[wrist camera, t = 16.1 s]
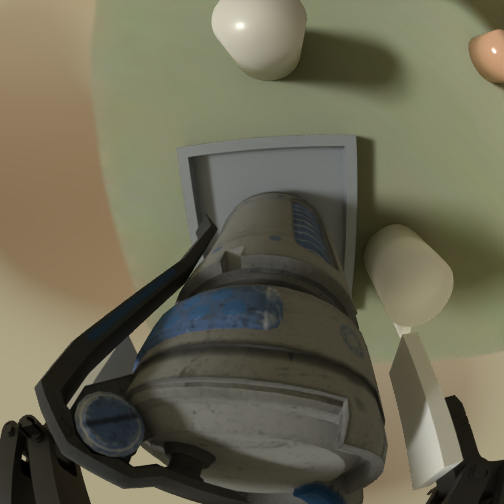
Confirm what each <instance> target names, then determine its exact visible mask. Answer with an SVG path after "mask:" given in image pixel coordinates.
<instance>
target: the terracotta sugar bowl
mask: <svg viewBox="0 0 504 504" xmlns="http://www.w3.org/2000/svg"><path fill="white" fill-rule="evenodd" d="M469 54H470V57H471V60H472V62H473V64H474V66H475V68H476V69H477V71H478V72H479V74H480V75H481V76H482V77H483V78H484V79H486V80H487V81H489V82H491V83H504V30H501V29H497V30H494V31H491V32H488V33H485V34H482V35H479V36H476V37H474V38H472V39H471V40H470V42H469Z"/></svg>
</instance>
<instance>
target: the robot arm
mask: <svg viewBox="0 0 504 504" xmlns="http://www.w3.org/2000/svg"><path fill="white" fill-rule="evenodd" d="M136 356H137V352H136V351H135V348H134V346H133V344H132V342H131V340H130V338H129V336H128V337H127V338H126V339H124V340H123V341H122V342H121V343H120V344H119V345H118V346H117V347H116V348H115V349H114V350H113V351H112V352H111V353H110V354H109V355H108V356H107V357H106V358H105V359H104V360H103V361H101V362H100V363H99V364H98V365H97V366H96V367H95V368H94V369H93V370H92V371H91V372H90V373H89V374H88V376H87V377H86V378H85V380H84V381H83V383H82V384H81V386H80V387H79V388H78V390H77V391H76V393H75V394H74V396H73V397H72V399H71V400H70V402H69V403H68V404H67V407H68V408H69V409H70V408H71V407H72V405H73V404H74V402H75V400H76V399H77V397H78V396H79V394H80V392H81V391H82V389H83V388H84V386H86V385H90V384H94V383H99V382H103V381H107V380H111V379H114V378H118V377H122V376H126V375H130V374H133V367H134V363H135V360H136ZM389 375H390V378H391V382H392V386H393V390H394V394H395V397H396V402H397V405H398V410H399V414H400V419H401V423H402V428H403V433H404V438H405V443H406V448H407V454H408V459H409V466H410V472H411V479H412V487H413V490H417V489H420V488H423V487H427V486H429V485H431V484H433V483H434V482H436V483H437V486H436V487H435V488H433V489H431V490H430V491H429V492H428V493H427V495H430V494H431V493H432V494H431V496H430V498H429V499H428V501H427V503H426V504H504V460H499V461H487V460H486V459H484V458H482V457H481V456H480V454H479V452H478V449H477V446H476V443H475V439H474V436H473V433H472V430H471V427H470V424H469V423H468V422H469V421H468V418H467V416H466V413H465V410H464V407H463V404H462V403H461V401H460V400H459V399H458V398H457V397H456V396H455V395H453V396H449V397H446V398H444V396H443V393H442V390H441V388H440V385H439V382H438V380H437V377H436V375H435V372H434V370H433V367H432V365H431V363H430V360H429V358H428V356H427V353H426V351H425V349H424V346H423V344H422V342H421V340H420V338H419V335H418V333H417V332H416V333H408V334H402V337H401V341H400V344H399V347H398V350H397V353H396V356H395V359H394V361H393V364H392V367H391V370H390V372H389ZM22 455H24V456H25V457H26V461H24V460H22V459H21V458H22ZM0 504H91V503H90V500H89V496H88V493H87V490H86V487H85V483H84V480H83V476H82V472H81V468H80V465H78V464H76V463H75V462H73V461H72V460H70V459H68V458H67V457H65V456H64V455H63V454H62V453H61V451H60V449H59V447H58V445H57V443H56V441H55V440H54V438H53V436H52V434H51V432H50V429H49V427H48V425H47V423H45V424H44V425H42V424H41V423H40V422H39V421H38V420H37V419H36V418H35V417H34V416H32V415H25V416H23V417H22V418H21V419H20V420H19V422H18V424H17V423H16V422H15V421H9V422H7V423H6V424H5V425H4V427H3V429H2V433H1V438H0Z"/></svg>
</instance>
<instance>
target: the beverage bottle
mask: <svg viewBox="0 0 504 504" xmlns="http://www.w3.org/2000/svg"><path fill="white" fill-rule="evenodd" d="M217 230H218V228H217V227H216V225H215V224H214V223H213V222H212V220H211V219H210V218H209V216H208V215H207V214H206V213H205V214H204V218H203V220H202V222H201V223H200V225H199V227H198V229H197V230H196V232H195V233H196V236H197V238H198V240H197V241H196V242H195V243H194V244H193V246H192V247H191V248H190V249H189V250H188V252H187V253H186V254H185V255H184V256H183V258H182V259H181V260H180V261H179V262H178V263H176V264H175V265H173V266H172V267H171V268H169V269H168V270H167V271H165V272H164V273H162V274H161V275H160V276H158V277H157V278H155V279H154V280H153V281H151V282H150V283H149V284H147V285H146V286H144V287H143V288H142V289H140V290H139V291H138V292H136V293H135V294H134V295H132V296H131V297H130V298H128V299H127V300H126V301H124V302H123V303H122V304H120V305H119V306H118V307H116V308H115V309H114V310H112V311H111V312H110V313H108V314H107V315H106V316H104V317H103V318H102V319H101V320H99V321H98V322H97V323H95V324H94V325H93V326H91V327H90V328H89V329H87V330H86V331H85V332H84V333H82V334H81V335H80V336H79V337H77V338H76V339H75V340H74V341H72V342H71V343H70V345H69V346H68V347H67V348H66V349H65V350H64V352H63V353H62V354H61V355H60V356H59V358H58V359H57V360H56V361H55V362H54V364H53V365H52V366H51V367H50V369H49V370H48V371H47V372H46V374H45V375H44V376H43V377H42V379H41V380H40V381H39V382H38V384H37V385H36V386H35V391H36V395H37V399H38V403H39V406H40V409H41V412H42V414H43V417H44V419H45V421H46V423H47V425H48V427H49V429H50V432H51V434H52V436H53V438H54V440H55V441H56V443H57V445H58V447H59V449H60V451H61V453H62V454H63V455H64V456H65V457H67V458H68V459H70V460H72V461H73V462H75V463H76V464H78V465H80V466H81V467H83V468H85V469H86V470H88V471H90V472H92V473H93V474H95V475H97V476H99V477H101V478H103V479H105V480H106V481H109V482H111V483H112V484H114V485H117V486H119V487H121V488H123V489H127V488H144V487H155V488H158V489H160V490H163V491H166V492H168V493H171V494H174V495H176V496H179V497H182V498H185V499H188V500H191V501H195V502H198V503H202V504H362V503H363V488H364V487H366V486H368V485H369V484H371V483H372V482H374V481H375V480H376V479H377V478H378V477H379V476H380V475H381V473H382V472H383V469H384V464H385V459H386V453H387V447H388V444H387V439H386V433H385V429H384V425H385V418H384V413H383V408H382V404H381V400H380V395H379V391H378V387H377V383H376V379H375V375H374V371H373V367H372V363H371V360H370V356H369V352H368V349H367V346H366V343H365V341H364V338H363V336H362V333H361V332H360V331H359V326H358V322H357V319H356V316H355V315H356V314H357V311H356V308H355V305H354V302H353V299H352V296H351V293H350V290H349V287H348V284H347V281H346V278H345V275H344V272H343V270H342V267H341V264H340V261H339V259H338V256H337V253H336V250H335V248H334V245H333V243H332V240H331V237H330V235H329V232H328V230H327V227H326V225H325V223H324V220H323V218H322V216H321V215H320V214H319V212H318V211H317V210H316V209H315V207H313V206H312V205H311V204H310V203H309V202H308V201H306V200H304V199H303V198H301V197H299V196H297V195H294V194H291V193H288V192H281V191H267V192H261V193H258V194H255V195H252V196H250V197H248V198H247V199H245V200H243V201H242V202H241V203H239V204H238V205H237V206H236V207H235V208H234V209H233V211H232V212H231V213H230V214H229V216H228V217H227V219H226V221H225V223H224V225H223V227H222V230H221V233H220V235H219V237H218V239H217V240H216V242H215V244H214V245H213V247H212V249H211V250H210V252H209V254H208V255H207V256H206V258H205V259H204V260H203V261H202V262H201V263H200V264H199V265H198V266H197V268H196V269H195V270H194V272H193V273H192V271H193V269H194V268H195V266H196V264H197V263H198V261H199V260H200V258H201V256H202V255H203V253H204V251H205V250H206V248H207V247H208V245H209V243H210V242H211V240H212V238H213V237H214V235H215V233H216V232H217ZM191 273H192V274H191ZM190 274H191V276H190ZM189 276H190V277H189ZM187 279H188V280H187ZM186 281H187V282H186ZM184 284H185V285H184ZM183 285H184V287H183V288H182V290H181V291H180V293H179V296H178V298H177V301H176V303H175V305H174V306H173V307H172V308H171V309H170V310H168V311H167V312H166V313H164V314H163V315H162V317H161V318H160V319H159V321H158V322H157V324H156V325H155V326H154V328H153V329H152V331H151V333H150V334H149V336H148V338H147V339H146V341H145V343H144V344H143V346H142V348H141V350H140V351H139V353H138V354H137V356H136V360H135V363H134V367H133V374H130V375H126V376H122V377H118V378H114V379H111V380H107V381H103V382H99V383H94V384H90V385H86V386H84V388H83V389H82V391H81V392H80V394H79V396H78V397H77V399H76V400H75V402H74V404H73V405H72V407H71V408H70V409H69V408H68V407H67V404H68V403H69V402H70V400H71V399H72V397H73V396H74V394H75V393H76V391H77V390H78V388H79V387H80V386H81V384H82V383H83V381H84V380H85V378H86V377H87V376H88V374H89V373H90V372H91V371H92V370H93V369H94V368H95V367H96V366H97V365H98V364H99V363H100V362H101V361H103V360H104V359H105V358H106V357H107V356H108V355H109V354H110V353H111V352H112V351H113V350H114V349H115V348H116V347H117V346H118V345H119V344H120V343H121V342H122V341H123V340H124V339H126V338H127V337H128V336H129V335H130V334H131V333H132V332H133V331H134V330H135V329H136V328H137V327H138V326H139V325H140V324H141V323H143V322H144V321H145V320H146V319H147V318H148V317H149V316H150V315H151V314H152V313H153V312H154V311H155V310H156V309H158V308H159V307H160V306H161V305H162V304H163V303H164V302H165V301H166V300H167V299H168V298H169V297H171V296H172V295H173V294H174V293H175V292H176V291H177V290H178V289H179V288H180V287H181V286H183ZM140 445H141V446H142V447H143V448H144V449H145V450H147V451H148V452H149V453H151V454H152V455H153V456H154V457H156V458H157V459H159V460H160V461H162V462H163V463H164V464H165V465H167V466H168V467H163V466H160V465H158V464H151V465H144V466H136V467H133V466H132V465H130V464H129V462H130V459H131V457H132V456H133V455H134V454H136V452H137V449H138V447H139V446H140Z"/></svg>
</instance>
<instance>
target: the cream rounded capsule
mask: <svg viewBox="0 0 504 504" xmlns="http://www.w3.org/2000/svg"><path fill="white" fill-rule="evenodd" d="M306 21H307V17H306V12H305V9H304V6H303V5H302V3H301V2H300V0H220V1H219V2H218V4H217V5H216V7H215V9H214V11H213V14H212V28H213V31H214V33H215V35H216V37H217V38H218V39H219V41H220V42H221V43H222V45H223V46H224V47H225V48H226V50H227V51H228V52H229V53H230V55H231V56H232V57H233V59H234V60H235V61H236V63H237V64H238V65H239V67H240V68H241V69H242V70H243V71H244V72H245V73H246V74H247V75H249V76H250V77H252V78H255V79H258V80H262V81H274V80H278V79H281V78H284V77H286V76H288V75H289V74H290V73H292V72H293V71H294V70H295V68H296V67H297V65H298V63H299V60H300V56H301V50H302V45H303V39H304V33H305V28H306Z"/></svg>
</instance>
